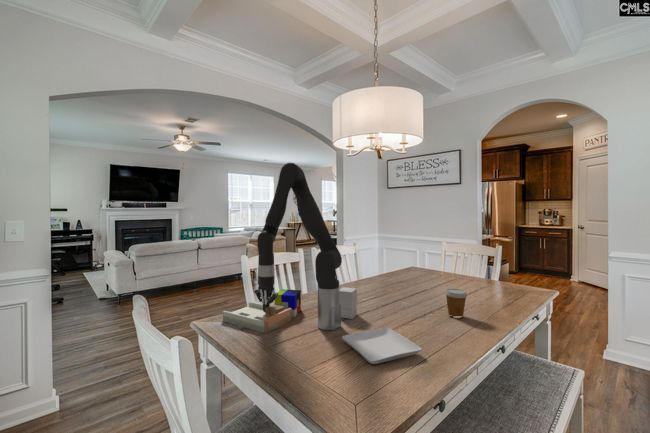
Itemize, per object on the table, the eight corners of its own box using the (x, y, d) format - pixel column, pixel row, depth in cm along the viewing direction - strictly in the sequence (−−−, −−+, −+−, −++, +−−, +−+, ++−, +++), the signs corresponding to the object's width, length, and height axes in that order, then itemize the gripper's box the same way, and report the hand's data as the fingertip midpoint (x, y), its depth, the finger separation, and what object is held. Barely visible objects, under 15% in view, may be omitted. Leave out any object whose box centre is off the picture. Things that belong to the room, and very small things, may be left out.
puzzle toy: (294, 316, 144) (294, 295, 144) (274, 315, 146) (274, 294, 146) (300, 309, 154) (300, 290, 153) (281, 308, 156) (281, 289, 155)
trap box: (291, 320, 139) (291, 308, 139) (266, 333, 125) (266, 320, 125) (250, 310, 153) (250, 299, 153) (222, 321, 138) (222, 309, 138)
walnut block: (284, 315, 138) (284, 306, 138) (275, 319, 133) (275, 310, 133) (274, 313, 141) (274, 304, 141) (265, 317, 136) (265, 308, 136)
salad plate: (370, 371, 96) (370, 360, 96) (340, 344, 116) (340, 335, 116) (423, 358, 105) (423, 348, 105) (387, 334, 124) (387, 326, 124)
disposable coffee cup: (469, 316, 145) (469, 290, 144) (462, 321, 138) (462, 295, 137) (449, 311, 151) (449, 287, 151) (441, 316, 144) (441, 291, 144)
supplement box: (357, 314, 147) (357, 288, 147) (352, 319, 140) (352, 292, 140) (343, 312, 150) (343, 286, 150) (337, 317, 143) (337, 290, 143)
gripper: (282, 274, 139) (282, 312, 140) (261, 271, 146) (261, 307, 147) (271, 277, 133) (271, 317, 133) (249, 274, 140) (249, 311, 140)
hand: (266, 311), depth 140 cm, fingers closed
